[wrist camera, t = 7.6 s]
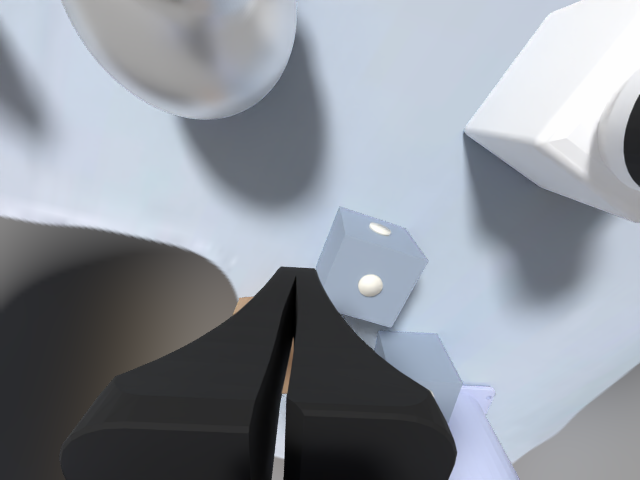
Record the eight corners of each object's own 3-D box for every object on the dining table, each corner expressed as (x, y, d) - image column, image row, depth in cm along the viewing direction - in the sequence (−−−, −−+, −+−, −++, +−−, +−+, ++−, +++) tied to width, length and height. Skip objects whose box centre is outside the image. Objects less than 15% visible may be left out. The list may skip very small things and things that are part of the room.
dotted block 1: (377, 284, 23) (392, 330, 19) (316, 266, 23) (315, 308, 18) (406, 225, 21) (431, 259, 17) (340, 203, 21) (347, 232, 16)
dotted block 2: (424, 376, 27) (446, 433, 23) (370, 373, 27) (380, 430, 23) (437, 333, 25) (464, 385, 21) (378, 329, 25) (391, 382, 21)
